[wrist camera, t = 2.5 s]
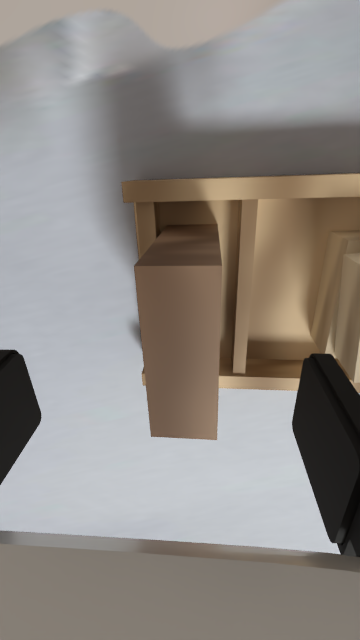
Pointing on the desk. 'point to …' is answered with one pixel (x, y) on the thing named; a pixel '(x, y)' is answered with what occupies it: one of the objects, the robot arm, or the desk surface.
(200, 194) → the rack
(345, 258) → the offcut top
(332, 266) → the offcut low
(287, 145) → the desk surface
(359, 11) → the desk surface
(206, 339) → the walnut board
